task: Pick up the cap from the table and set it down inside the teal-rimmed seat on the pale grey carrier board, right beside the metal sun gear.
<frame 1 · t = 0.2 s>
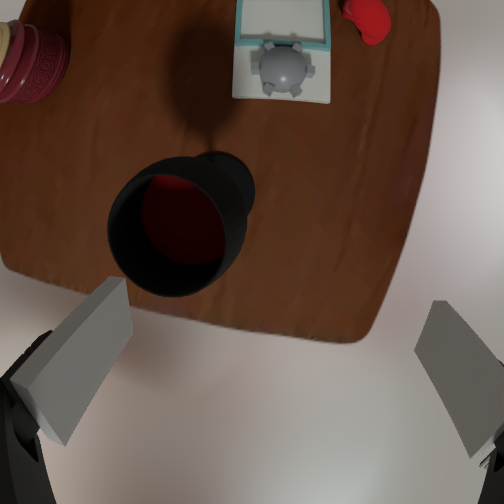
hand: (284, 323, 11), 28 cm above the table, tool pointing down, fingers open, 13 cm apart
carrier board: (282, 35, 29), on the table
canister: (44, 68, 30), on the table
wine glass: (215, 192, 37), on the table
cap: (361, 23, 27), on the table
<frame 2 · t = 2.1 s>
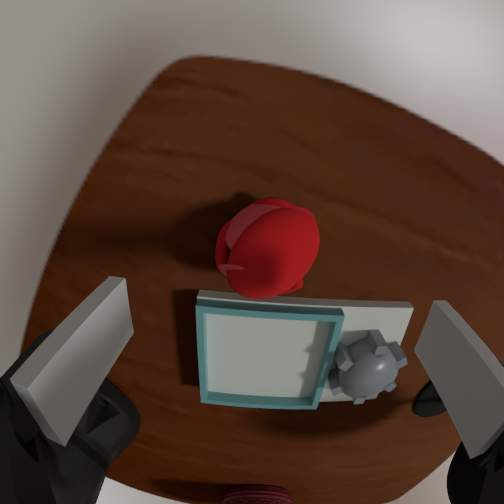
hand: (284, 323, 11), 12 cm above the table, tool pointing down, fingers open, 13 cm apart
carrier board: (301, 352, 26), on the table
canister: (258, 494, 40), on the table
wine glass: (445, 389, 28), on the table
cap: (270, 236, 22), on the table
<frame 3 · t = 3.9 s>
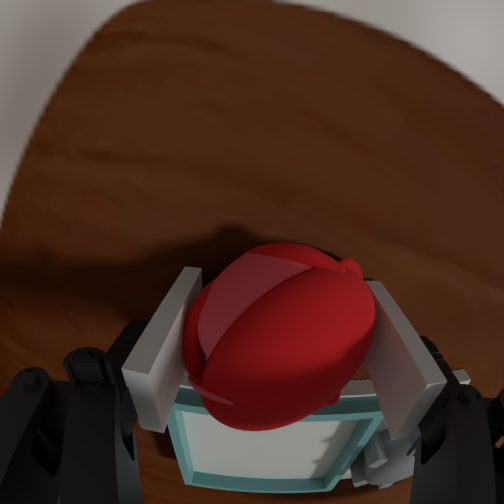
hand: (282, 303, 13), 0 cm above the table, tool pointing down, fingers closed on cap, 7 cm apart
carrier board: (317, 436, 17), on the table
cap: (283, 298, 13), on the table, touching gripper
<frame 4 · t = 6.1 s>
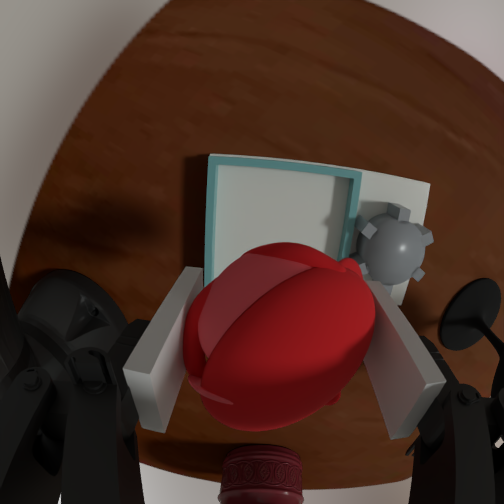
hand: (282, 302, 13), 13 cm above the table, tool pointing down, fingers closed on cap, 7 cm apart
carrier board: (318, 232, 25), on the table
canister: (262, 459, 39), on the table
wine glass: (471, 314, 27), on the table
cap: (283, 298, 13), point 12 cm above the table, touching gripper
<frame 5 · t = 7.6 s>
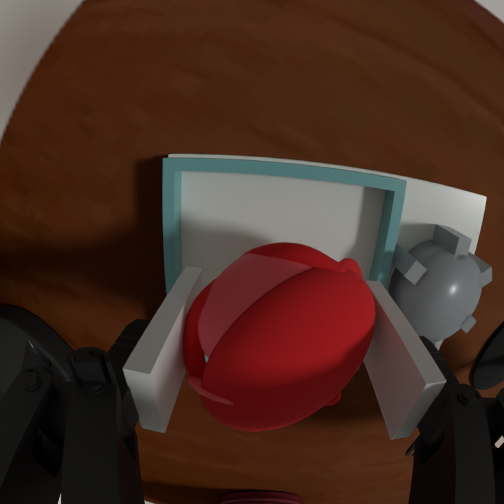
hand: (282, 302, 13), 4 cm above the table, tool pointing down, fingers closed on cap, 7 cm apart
carrier board: (335, 269, 17), on the table
canister: (261, 501, 30), on the table
cap: (283, 298, 13), point 4 cm above the table, touching gripper
when the fingers open (3 cm above the table, at t = 8.7 s): cap drops 2 cm, resting on carrier board.
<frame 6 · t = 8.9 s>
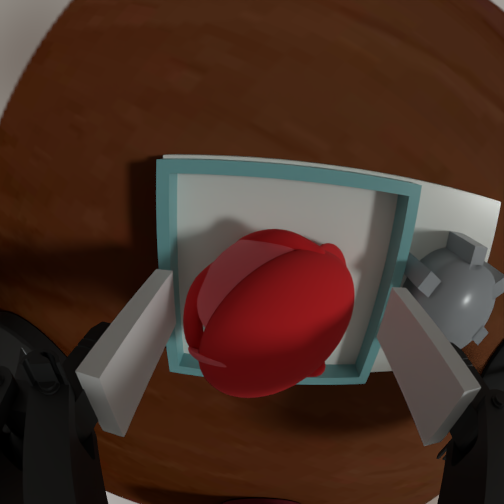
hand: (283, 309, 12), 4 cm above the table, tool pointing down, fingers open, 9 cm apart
carrier board: (342, 278, 15), on the table
cap: (274, 282, 15), point 1 cm above the table, touching carrier board
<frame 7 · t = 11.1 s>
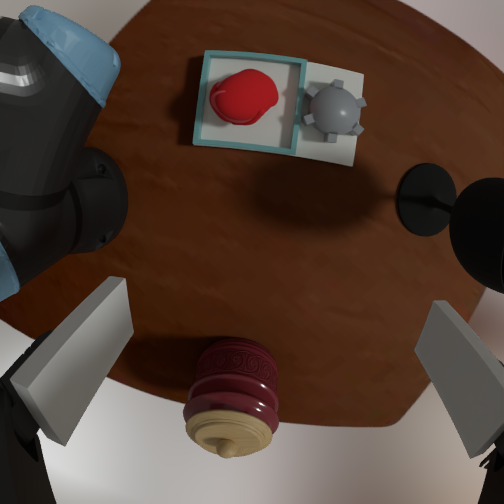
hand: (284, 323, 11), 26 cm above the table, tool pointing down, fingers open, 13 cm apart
carrier board: (280, 105, 31), on the table
canister: (238, 365, 45), on the table
wine glass: (427, 199, 34), on the table
cap: (247, 100, 30), point 1 cm above the table, touching carrier board
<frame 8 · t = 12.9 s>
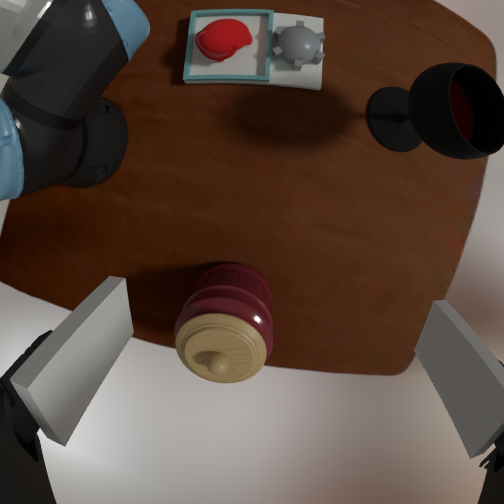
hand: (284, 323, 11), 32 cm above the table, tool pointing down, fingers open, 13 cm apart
carrier board: (254, 47, 33), on the table
canister: (232, 296, 47), on the table
wine glass: (397, 119, 36), on the table
cap: (227, 45, 32), point 1 cm above the table, touching carrier board
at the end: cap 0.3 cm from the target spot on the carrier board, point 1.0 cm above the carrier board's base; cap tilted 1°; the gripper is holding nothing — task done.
